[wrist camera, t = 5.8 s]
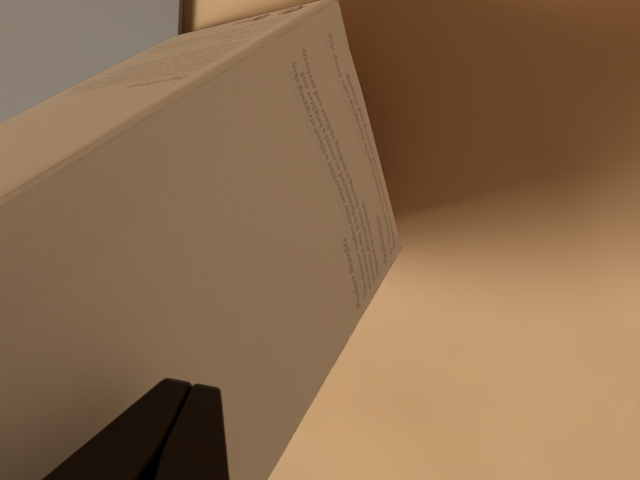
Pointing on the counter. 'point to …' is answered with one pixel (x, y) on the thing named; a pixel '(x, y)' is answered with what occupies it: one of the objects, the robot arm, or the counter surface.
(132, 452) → the robot arm
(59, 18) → the mat
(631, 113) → the counter surface
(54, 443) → the skincare box
